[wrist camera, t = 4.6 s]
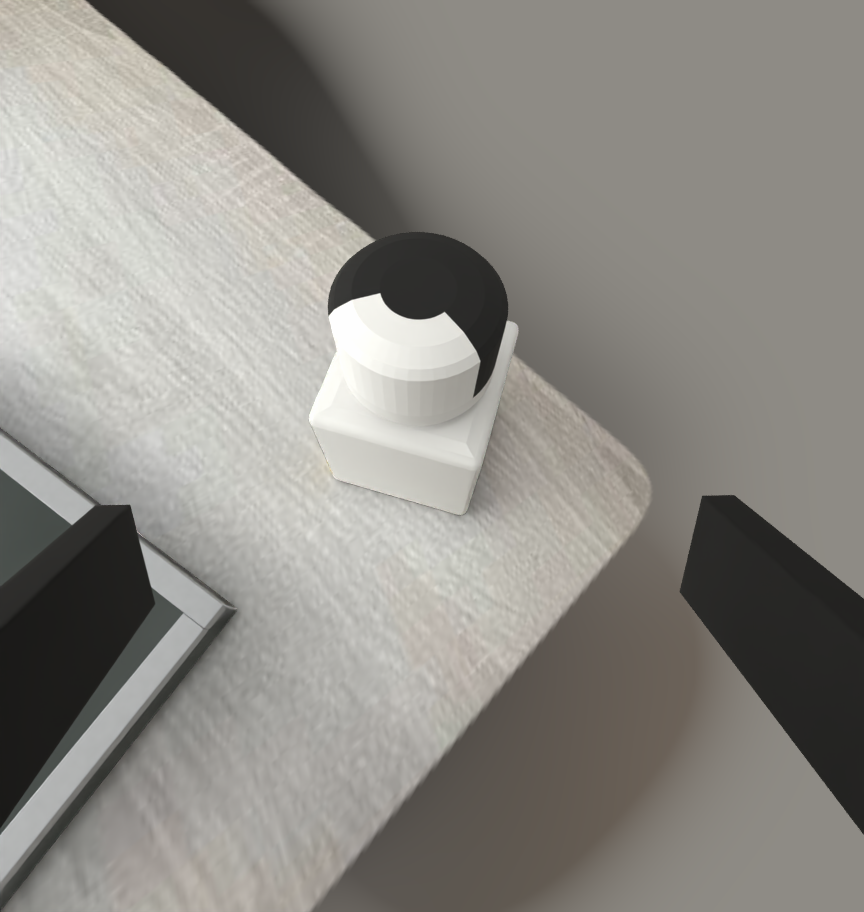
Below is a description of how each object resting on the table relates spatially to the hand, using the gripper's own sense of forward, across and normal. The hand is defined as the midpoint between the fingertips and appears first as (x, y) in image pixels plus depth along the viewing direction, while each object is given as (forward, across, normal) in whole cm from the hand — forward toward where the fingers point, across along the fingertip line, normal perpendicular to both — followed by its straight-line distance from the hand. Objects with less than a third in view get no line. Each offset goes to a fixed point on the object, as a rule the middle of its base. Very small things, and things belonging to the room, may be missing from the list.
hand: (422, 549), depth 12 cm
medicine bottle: (+16, 0, -3) cm, 16 cm away
